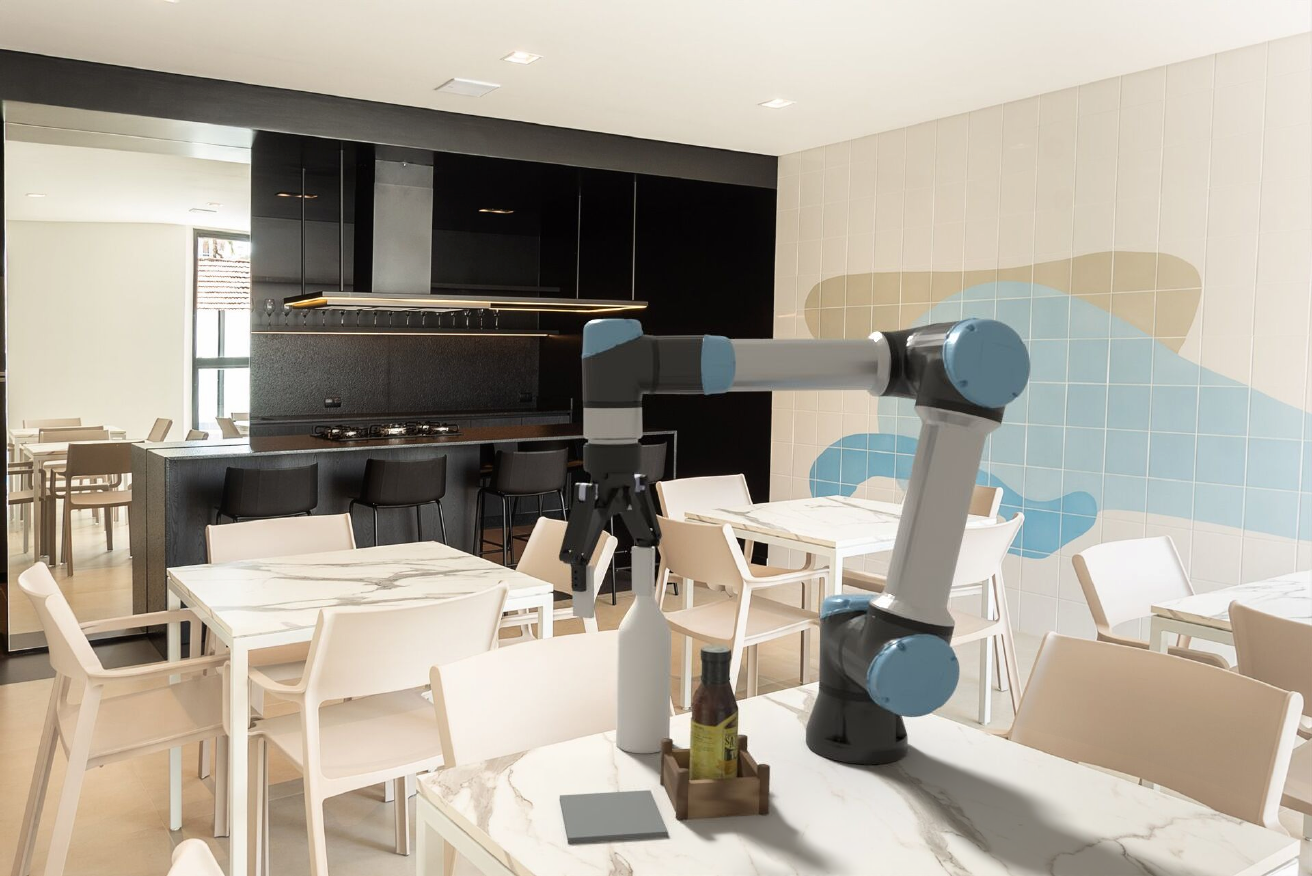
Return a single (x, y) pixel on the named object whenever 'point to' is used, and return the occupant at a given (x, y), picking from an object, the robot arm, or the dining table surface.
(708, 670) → the sauce bottle
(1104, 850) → the dining table surface
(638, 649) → the bottle
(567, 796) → the mat
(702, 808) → the corner post wooden tray
